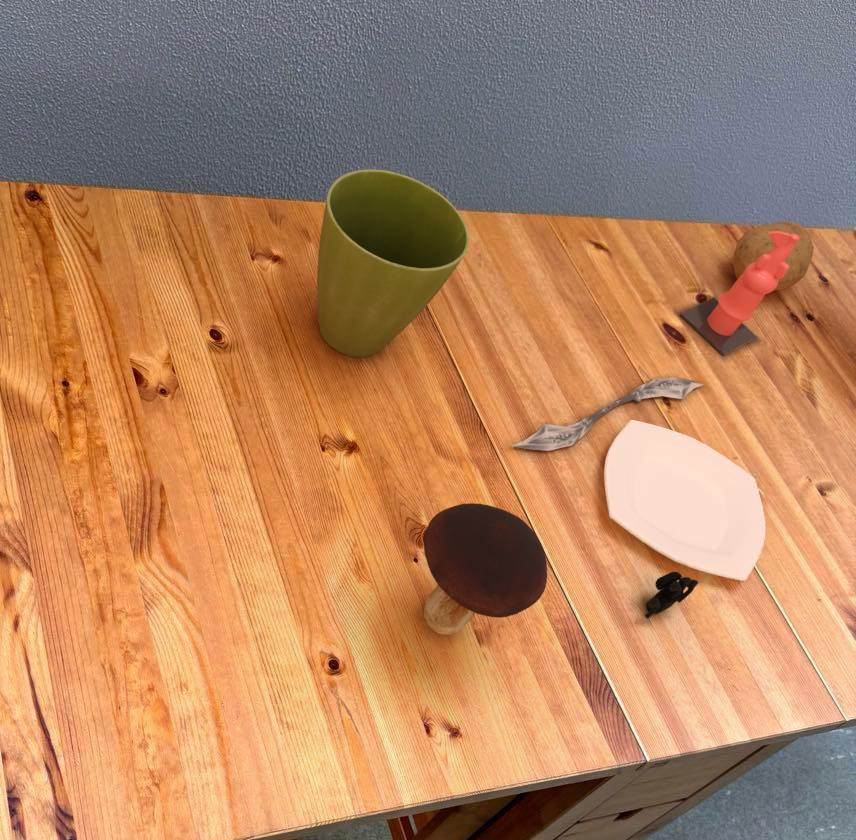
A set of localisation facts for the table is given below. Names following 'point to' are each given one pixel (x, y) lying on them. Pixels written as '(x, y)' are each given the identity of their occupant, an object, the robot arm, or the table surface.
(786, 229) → the potato
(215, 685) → the table surface
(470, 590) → the decorative mushroom
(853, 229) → the robot arm
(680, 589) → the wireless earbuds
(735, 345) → the coaster
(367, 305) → the flower pot
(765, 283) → the figurine
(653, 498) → the plate
